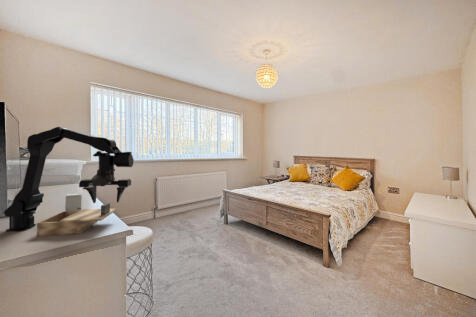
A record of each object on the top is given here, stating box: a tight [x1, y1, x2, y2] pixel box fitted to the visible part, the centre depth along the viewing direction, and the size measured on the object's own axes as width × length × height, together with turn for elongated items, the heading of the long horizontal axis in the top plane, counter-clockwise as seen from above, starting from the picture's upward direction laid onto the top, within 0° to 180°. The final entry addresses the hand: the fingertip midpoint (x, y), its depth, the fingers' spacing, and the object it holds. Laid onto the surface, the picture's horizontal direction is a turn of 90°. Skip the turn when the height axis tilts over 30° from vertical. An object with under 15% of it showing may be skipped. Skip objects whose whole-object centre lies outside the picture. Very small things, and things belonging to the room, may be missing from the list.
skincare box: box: [64, 192, 83, 211], centre depth 98 cm, size 6×4×12 cm
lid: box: [60, 202, 118, 222], centre depth 89 cm, size 14×16×5 cm
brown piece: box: [36, 210, 98, 237], centre depth 88 cm, size 14×16×5 cm
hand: (106, 202), depth 90 cm, fingers open, 9 cm apart
